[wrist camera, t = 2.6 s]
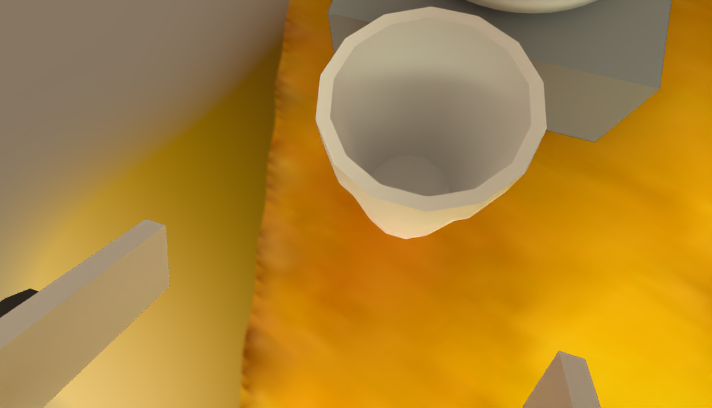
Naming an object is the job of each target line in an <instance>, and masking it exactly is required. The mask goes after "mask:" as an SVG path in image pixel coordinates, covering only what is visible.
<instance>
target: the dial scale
mask: <svg viewBox="0 0 712 408" xmlns="http://www.w3.org/2000/svg"><path fill="white" fill-rule="evenodd" d="M671 1H672V0H333V1H332V3H331V6H330V8H329V11H328V18H329V24H330V30H331V37H332V43H333V49H334V54H335V53H336V51H337V50H338V48H339V47H340V45H341V44H342V42H343V41H344V39H345V38H347V37H348V36H350V35H352V34H353V33H355V32H356V31H358V30H360V29H361V28H363V27H365V26H366V25H368V24H369V23H371V22H373V21H374V20H376V19H378V18H379V17H381V16H383V15H384V14H390V13H395V12H401V11H407V10H413V9H419V8H425V7H436V8H441V9H446V10H451V11H456V12H461V13H466V14H471V15H476V16H479V17H481V18H482V19H484V20H485V21H487V22H488V23H490V24H491V25H493V26H494V27H496V28H497V29H499V30H501V31H502V32H504V33H505V34H507V35H508V36H510V37H511V38H513V39H514V40H516V41H517V42H519V44H520V45H521V47H522V49H523V50H524V52H525V53H526V55H527V57H528V58H529V60H530V61H531V63H532V64H533V66H534V68H535V69H536V71H537V72H538V74H539V76H540V77H541V79H542V80H543V82H544V96H545V110H546V124H547V129H546V130H548V131H552V132H556V133H560V134H564V135H568V136H572V137H576V138H580V139H584V140H588V141H592V142H596V141H597V140H598V139H599V138H601V137H602V136H603V135H604V134H606V133H607V132H608V131H609V130H610V129H612V128H613V127H614V126H615V125H616V124H618V123H619V122H620V121H621V120H623V119H624V118H625V117H626V116H627V115H629V114H630V113H631V112H632V111H633V110H635V109H636V108H637V107H638V106H640V105H641V104H642V103H643V102H644V101H646V100H647V99H648V98H649V97H650V96H652V95H653V94H654V93H655V92H657V91H658V90H659V89H660V83H661V76H662V68H663V61H664V53H665V46H666V39H667V31H668V24H669V16H670V9H671Z"/></svg>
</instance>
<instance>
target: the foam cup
mask: <svg viewBox="0 0 712 408" xmlns="http://www.w3.org/2000/svg"><path fill="white" fill-rule="evenodd" d="M316 123H317V126H318V129H319V132H320V136H321V139H322V142H323V145H324V147H325V150H326V152H327V155H328V157H329V160H330V162H331V165H332V167H333V169H334V172H335V174H336V177H337V179H338V182H339V184H341V185H342V186H343V187H344V188H345V189H346V190H348V191H349V192H350V193H351V194H352V195H353V196H354V197H355V199H356V200H357V202H358V203H359V204H360V206H361V207H362V209H363V210H364V211H365V213H366V214H367V216H368V217H369V218H370V220H371V221H372V222H373V223H375V224H376V225H377V226H378V227H379V228H380V229H381V230H383V231H384V232H385V233H386V234H389V235H393V236H396V237H400V238H403V239H409V238H415V237H421V236H426V235H428V234H430V233H432V232H434V231H436V230H438V229H440V228H442V227H444V226H445V225H447V224H449V223H451V222H453V221H456V220H462V219H468V218H470V217H471V216H473V215H474V214H475V213H477V212H478V211H480V210H481V209H483V208H484V207H485V206H487V205H488V204H490V203H491V202H492V201H494V200H495V199H497V198H498V197H499V196H501V195H502V194H504V193H505V192H506V191H507V190H508V189H509V188H510V187H511V186H512V185H513V184H514V183H515V182H516V181H517V180H518V179H519V178H520V177H521V176H522V175H523V174H524V173H525V172H526V170H527V168H528V166H529V164H530V162H531V160H532V158H533V156H534V154H535V152H536V150H537V148H538V146H539V143H540V141H541V139H542V137H543V135H544V133H545V131H546V129H547V124H546V110H545V96H544V82H543V80H542V79H541V77H540V76H539V74H538V72H537V71H536V69H535V68H534V66H533V64H532V63H531V61H530V60H529V58H528V57H527V55H526V53H525V52H524V50H523V49H522V47H521V45H520V44H519V42H517V41H516V40H514V39H513V38H511V37H510V36H508V35H507V34H505V33H504V32H502V31H501V30H499V29H497V28H496V27H494V26H493V25H491V24H490V23H488V22H487V21H485V20H484V19H482V18H481V17H479V16H476V15H471V14H466V13H461V12H456V11H451V10H446V9H441V8H436V7H425V8H419V9H413V10H407V11H401V12H395V13H390V14H384V15H383V16H381V17H379V18H378V19H376V20H374V21H373V22H371V23H369V24H368V25H366V26H365V27H363V28H361V29H360V30H358V31H356V32H355V33H353V34H352V35H350V36H348V37H347V38H345V39H344V41H343V42H342V44H341V45H340V47H339V48H338V50H337V51H336V53H335V54H334V56H333V57H332V59H331V60H330V62H329V63H328V65H327V66H326V68H325V69H324V71H323V72H322V74H321V75H320V84H319V93H318V102H317V111H316Z"/></svg>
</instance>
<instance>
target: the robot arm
mask: <svg viewBox="0 0 712 408" xmlns="http://www.w3.org/2000/svg"><path fill="white" fill-rule="evenodd" d="M169 286H170V280H169V266H168V251H167V237H166V226H165V225H163V224H160V223H157V222H153V221H150V220H147V219H145V220H144V221H142V222H141V223H139V224H138V225H137V226H135V227H133V228H132V229H130V230H129V231H128V232H126V233H125V234H123V235H122V236H120V237H119V238H117V239H116V240H115V241H113V242H111V243H110V244H108V245H107V246H105V247H104V248H102V249H101V250H100V251H98V252H97V253H95V254H94V255H92V256H91V257H89V258H88V259H86V260H85V261H83V262H82V263H80V264H79V265H78V266H76V267H74V268H73V269H72V270H70V271H69V272H67V273H66V274H64V275H63V276H61V277H60V278H58V279H57V280H55V281H54V282H52V283H51V284H50V285H48V286H47V287H45V288H44V289H42V290H41V291H39V292H38V291H36V290H33V289H28V290H25V291H23V292H20V293H18V294H15V295H13V296H10V297H8V298H5V299H4V300H2V301H1V302H0V408H43V407H44V406H45V405H46V404H47V403H48V402H49V401H50V400H51V399H52V398H53V397H55V396H56V394H58V393H59V392H60V391H61V390H62V389H63V388H64V387H65V386H66V385H67V384H68V383H69V382H70V381H71V380H72V379H73V378H74V377H75V376H76V375H78V374H79V373H80V372H81V371H82V370H83V369H84V368H85V367H86V366H87V365H88V364H89V363H90V362H91V361H92V360H93V359H94V358H95V357H96V356H97V355H98V354H99V353H100V352H102V351H103V350H104V349H105V348H106V347H107V346H108V345H109V344H110V343H111V342H112V341H113V340H114V339H115V338H116V337H117V336H118V335H119V334H120V333H121V332H122V331H124V329H126V327H128V326H129V325H130V324H131V323H132V322H133V321H134V320H135V319H136V318H137V317H138V316H139V315H140V314H141V313H142V312H143V311H144V310H145V309H146V308H148V307H149V306H150V305H151V304H152V303H153V302H154V301H155V300H156V299H157V298H158V297H159V296H160V295H161V294H162V293H163V292H164V291H165V290H166V289H167V288H168V287H169ZM523 408H601V407H600V404H599V401H598V397H597V394H596V391H595V388H594V385H593V382H592V379H591V376H590V372H589V369H588V366H587V363H586V360H585V359H583V358H580V357H576V356H573V355H570V354H567V353H564V352H561V351H558V353H557V354H556V356H555V358H554V359H553V361H552V362H551V364H550V365H549V367H548V368H547V370H546V371H545V373H544V375H543V376H542V378H541V379H540V381H539V382H538V384H537V385H536V387H535V388H534V390H533V392H532V393H531V395H530V396H529V398H528V399H527V401H526V402H525V404H524V405H523Z"/></svg>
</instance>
